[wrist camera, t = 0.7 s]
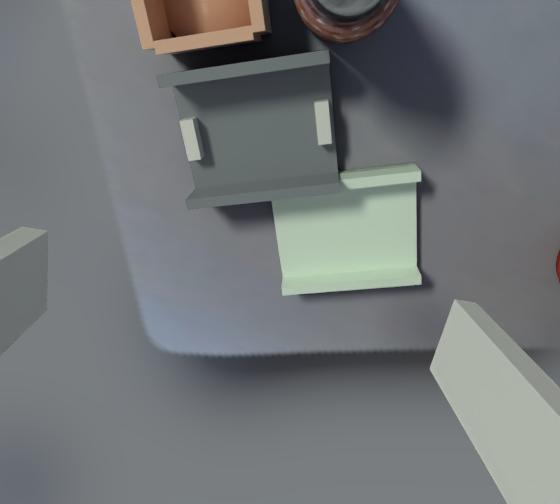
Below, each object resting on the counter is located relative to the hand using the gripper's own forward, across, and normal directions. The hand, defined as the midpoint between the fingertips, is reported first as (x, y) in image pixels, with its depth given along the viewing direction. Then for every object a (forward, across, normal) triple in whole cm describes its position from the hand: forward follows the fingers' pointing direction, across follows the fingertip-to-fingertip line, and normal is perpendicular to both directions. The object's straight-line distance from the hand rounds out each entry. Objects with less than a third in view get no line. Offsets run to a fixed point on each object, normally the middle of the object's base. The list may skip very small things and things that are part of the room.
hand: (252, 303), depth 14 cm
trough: (+23, +8, -3) cm, 24 cm away
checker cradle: (+23, -1, +4) cm, 23 cm away
